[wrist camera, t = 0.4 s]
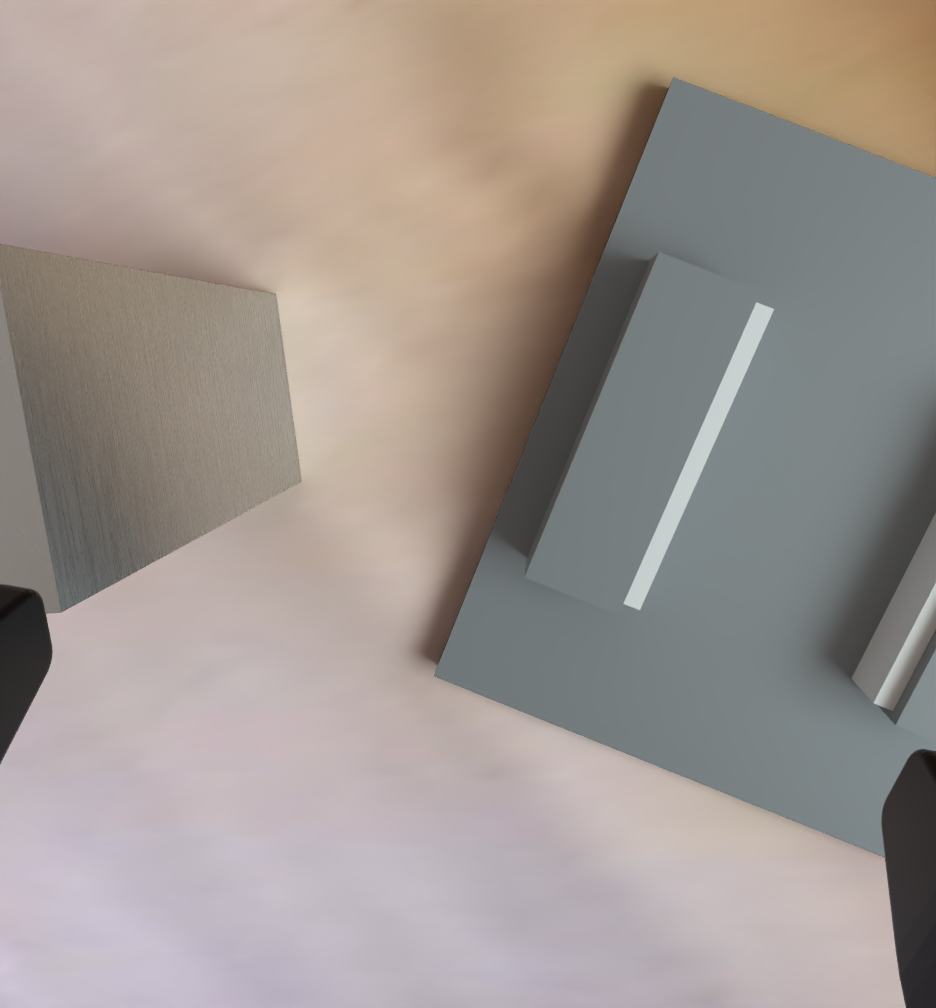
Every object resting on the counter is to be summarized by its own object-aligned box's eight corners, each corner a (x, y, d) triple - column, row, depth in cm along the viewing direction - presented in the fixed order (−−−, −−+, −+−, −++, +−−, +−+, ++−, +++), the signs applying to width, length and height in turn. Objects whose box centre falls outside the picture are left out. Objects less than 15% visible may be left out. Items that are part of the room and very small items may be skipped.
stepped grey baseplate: (1037, 906, 24) (1099, 978, 21) (437, 665, 25) (423, 705, 22) (1364, 353, 21) (1485, 355, 18) (668, 86, 21) (686, 49, 19)
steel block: (301, 481, 24) (61, 612, 12) (161, 494, 24) (-200, 632, 13) (275, 294, 23) (-9, 242, 11) (131, 311, 24) (-285, 277, 12)
